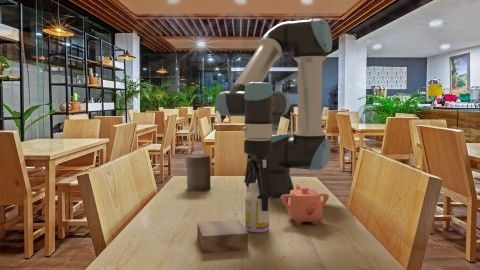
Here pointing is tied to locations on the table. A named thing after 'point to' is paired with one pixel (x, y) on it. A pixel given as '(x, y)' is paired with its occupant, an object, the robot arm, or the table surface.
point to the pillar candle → (198, 172)
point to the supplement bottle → (253, 211)
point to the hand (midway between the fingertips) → (256, 215)
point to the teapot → (304, 205)
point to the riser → (222, 236)
